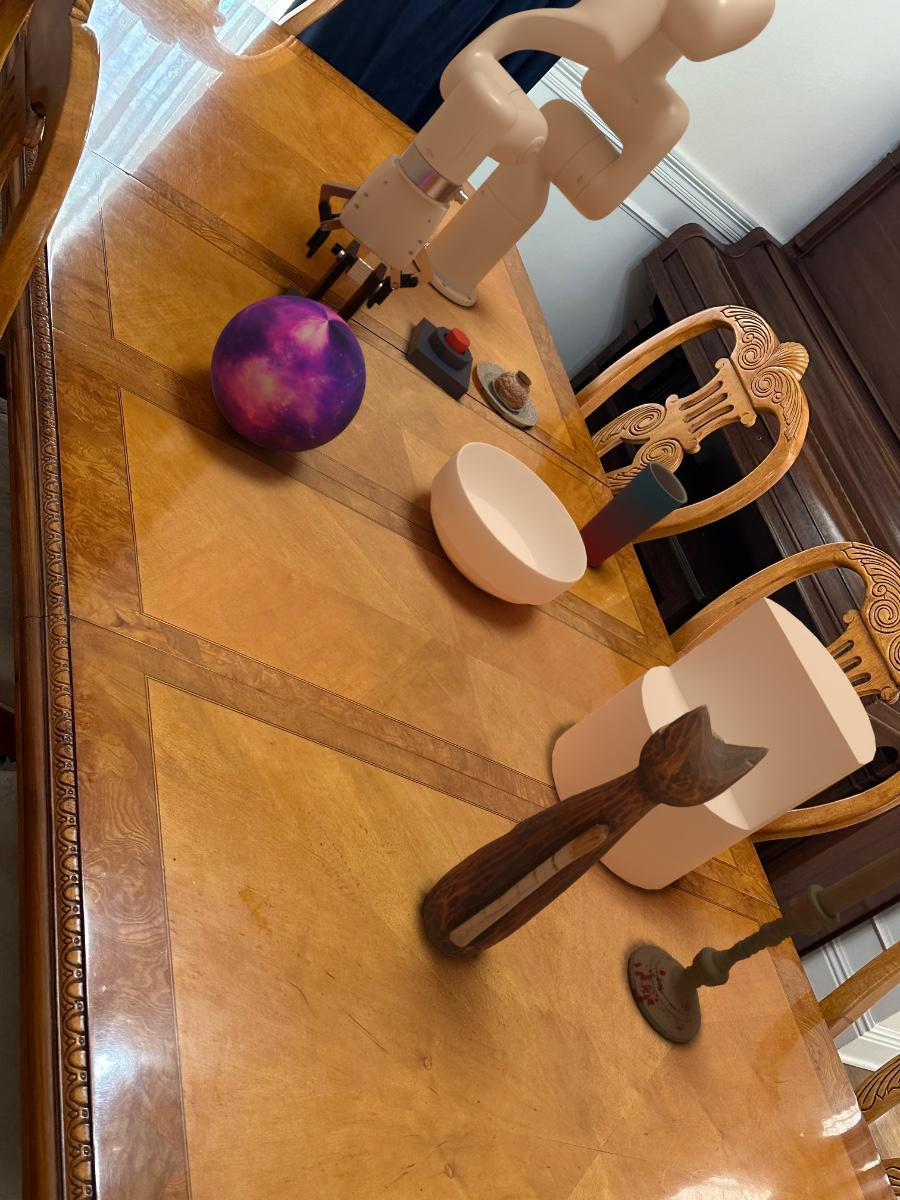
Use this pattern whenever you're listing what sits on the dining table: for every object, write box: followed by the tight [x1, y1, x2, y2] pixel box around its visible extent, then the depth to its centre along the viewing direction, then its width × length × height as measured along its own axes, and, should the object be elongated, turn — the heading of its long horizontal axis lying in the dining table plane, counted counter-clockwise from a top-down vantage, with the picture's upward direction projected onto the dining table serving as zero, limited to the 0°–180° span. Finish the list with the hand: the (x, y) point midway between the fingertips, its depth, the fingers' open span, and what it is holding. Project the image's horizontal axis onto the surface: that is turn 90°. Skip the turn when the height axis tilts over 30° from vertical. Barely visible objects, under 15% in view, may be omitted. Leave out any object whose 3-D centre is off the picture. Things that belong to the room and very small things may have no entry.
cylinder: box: [551, 596, 877, 890], centre depth 115 cm, size 19×19×25 cm
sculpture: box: [423, 705, 769, 958], centre depth 86 cm, size 7×9×30 cm
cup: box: [578, 460, 688, 568], centre depth 151 cm, size 7×7×15 cm
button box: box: [406, 316, 474, 401], centre depth 158 cm, size 10×9×4 cm
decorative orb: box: [210, 295, 367, 453], centre depth 114 cm, size 15×15×15 cm
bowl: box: [430, 441, 588, 606], centre depth 131 cm, size 20×20×8 cm
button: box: [444, 327, 471, 354], centre depth 156 cm, size 3×3×2 cm
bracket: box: [282, 238, 389, 324], centre depth 136 cm, size 10×9×12 cm
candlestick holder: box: [628, 846, 900, 1044], centre depth 100 cm, size 9×9×30 cm
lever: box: [329, 241, 374, 287], centre depth 138 cm, size 12×6×2 cm, turn 174°
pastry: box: [476, 360, 540, 428], centre depth 166 cm, size 12×12×5 cm
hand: (339, 279), depth 144 cm, fingers open, 9 cm apart
